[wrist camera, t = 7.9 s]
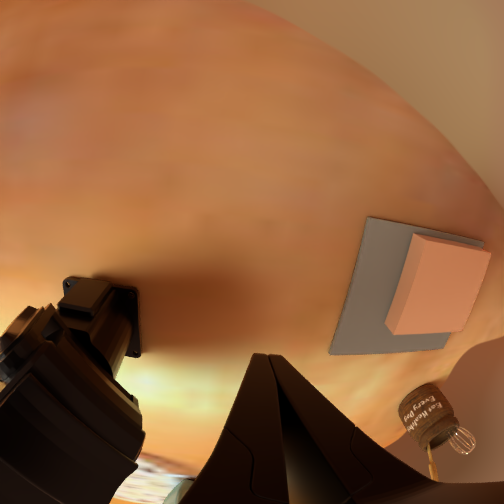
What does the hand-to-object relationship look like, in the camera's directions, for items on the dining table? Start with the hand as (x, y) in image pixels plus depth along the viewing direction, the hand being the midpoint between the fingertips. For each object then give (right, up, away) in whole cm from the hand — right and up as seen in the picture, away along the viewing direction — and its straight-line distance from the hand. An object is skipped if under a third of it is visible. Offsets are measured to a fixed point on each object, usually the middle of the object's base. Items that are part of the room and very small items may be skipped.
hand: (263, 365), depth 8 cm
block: (+12, +1, +13) cm, 17 cm away
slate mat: (+14, -1, +15) cm, 20 cm away
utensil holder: (+20, -15, +21) cm, 32 cm away
